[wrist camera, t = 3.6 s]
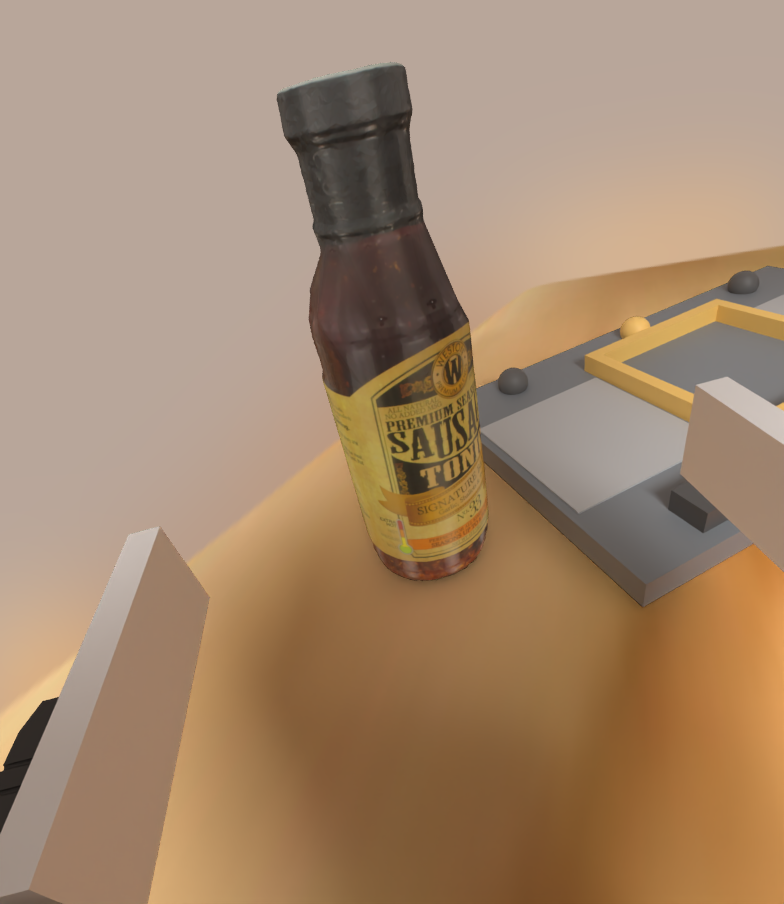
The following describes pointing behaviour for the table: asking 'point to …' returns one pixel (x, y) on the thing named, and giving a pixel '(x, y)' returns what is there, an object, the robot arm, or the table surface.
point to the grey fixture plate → (636, 431)
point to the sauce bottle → (388, 325)
